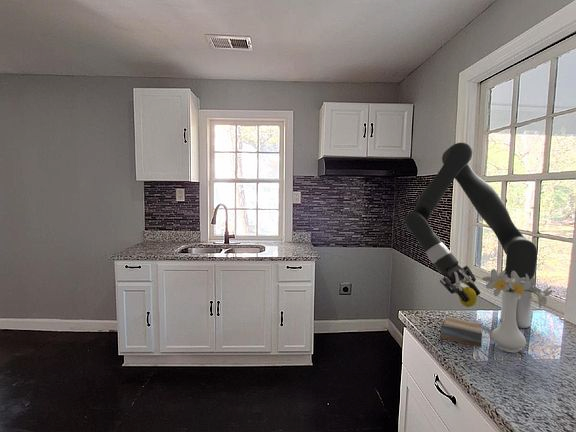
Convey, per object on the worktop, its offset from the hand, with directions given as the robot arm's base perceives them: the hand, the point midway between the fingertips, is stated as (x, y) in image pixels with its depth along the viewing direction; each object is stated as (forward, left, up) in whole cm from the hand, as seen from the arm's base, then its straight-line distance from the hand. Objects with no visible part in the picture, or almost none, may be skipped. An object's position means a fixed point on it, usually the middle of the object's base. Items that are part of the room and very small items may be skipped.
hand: (472, 297), depth 115 cm
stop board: (0, -3, -13) cm, 14 cm away
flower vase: (+5, +11, -13) cm, 18 cm away
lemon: (-2, -1, -4) cm, 5 cm away
